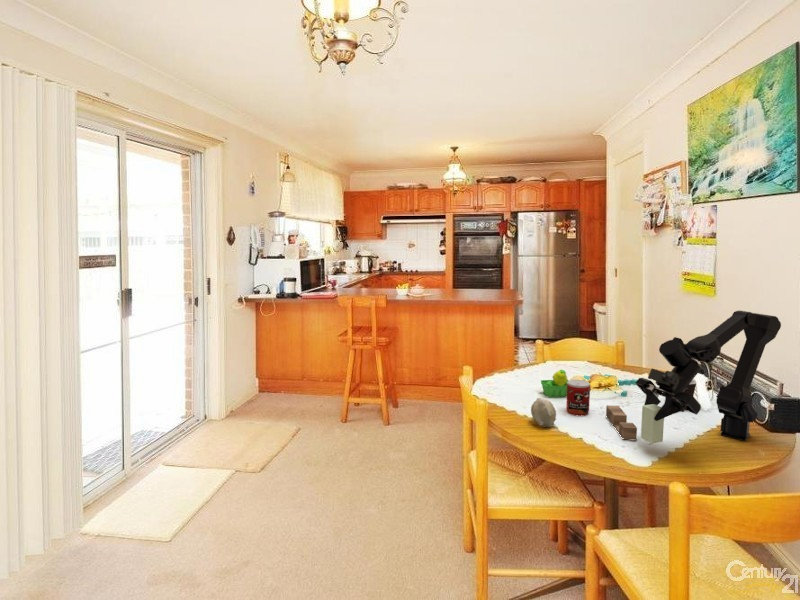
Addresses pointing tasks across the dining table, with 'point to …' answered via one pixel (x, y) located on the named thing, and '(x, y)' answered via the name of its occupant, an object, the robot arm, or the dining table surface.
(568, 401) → the canned food
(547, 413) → the grey faceted lump
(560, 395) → the fruit basket
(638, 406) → the dining table surface
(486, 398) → the dining table surface
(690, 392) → the coffee mug
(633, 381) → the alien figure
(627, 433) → the rail
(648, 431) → the post
